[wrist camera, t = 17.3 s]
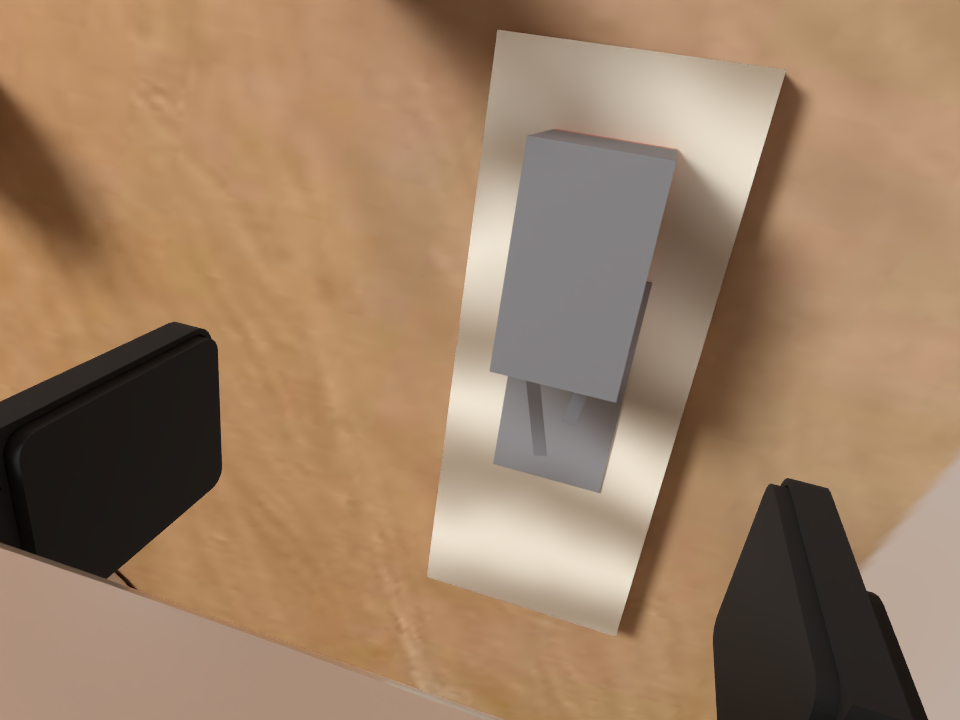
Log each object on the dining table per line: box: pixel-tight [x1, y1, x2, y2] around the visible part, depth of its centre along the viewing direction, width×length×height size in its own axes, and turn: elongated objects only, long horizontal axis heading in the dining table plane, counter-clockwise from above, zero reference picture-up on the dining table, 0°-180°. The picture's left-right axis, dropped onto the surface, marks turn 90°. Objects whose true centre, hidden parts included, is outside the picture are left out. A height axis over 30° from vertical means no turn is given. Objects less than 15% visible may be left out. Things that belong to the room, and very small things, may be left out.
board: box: [427, 30, 786, 637], centre depth 29 cm, size 26×10×1 cm, turn 172°
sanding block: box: [489, 129, 677, 403], centre depth 23 cm, size 8×4×5 cm, turn 172°
